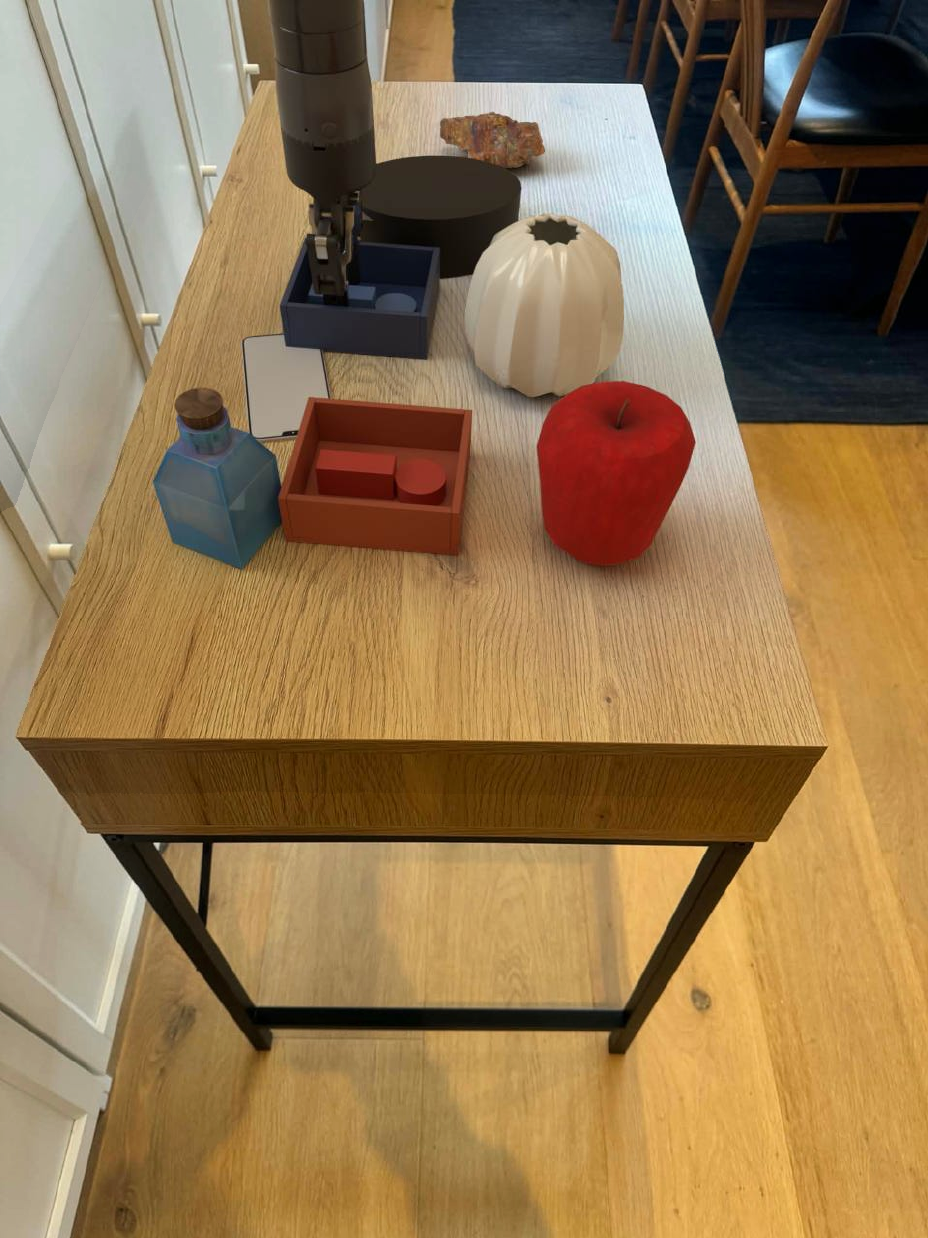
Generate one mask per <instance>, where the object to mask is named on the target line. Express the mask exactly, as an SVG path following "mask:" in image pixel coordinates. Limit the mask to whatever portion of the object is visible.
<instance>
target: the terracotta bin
mask: <svg viewBox="0 0 928 1238" xmlns="http://www.w3.org/2000/svg"><path fill="white" fill-rule="evenodd" d="M472 424H473V409H465V408H455V407H454V408H452V407H441V406H428V405H427V406H426V405H413V404H403V403H390V402H379V401H378V402H377V401H364V400H355V399H353V400H352V399H342V398H341V399H340V398H332V399H329V398H315V397H309V398H308V401H307V404H306V408H305V411H304V414H303V418H302V421H301V424H300V427H299V431H298V434H297V437H296V439H295V441H294V445H293V448H292V451H291V454H290V458H289V460H288V464H287V467H286V470H285V474H284V476H283V480H282V482H281V490H280V493H279V496H278V502H279V507H280V512H281V518H282V522H281V524H282V529H283V533H284V539H285V542H296V543H308V544H319V545H321V544H322V545H329V546H330V545H331V546H332V545H333V546H342V547H343V546H344V547H355V548H368V549H379V550H392V551H403V552H414V553H425V554H438V555H450V556H458V555H459V551H460V543H461V534H462V526H463V516H464V509H465V502H466V501H465V500H466V492H467V483H468V475H469V465H470V458H471V457H470V456H471V444H472ZM321 449H323V450H336V451H348V452H360V453H373V454H385V455H396V458H397V469H398V468H399V467H400V466H401V465H402V464H404V463H406V462H408V461H411V460H415V459H425V460H430V461H433V462H436V463H437V464H439V465H440V466H441V467H442V468H443V469H444V471H445V473H446V496H445V499H444V500H443V502H442V503H441V504H440V505H438V506H430V505H418V504H406V503H400V502H399V501H398V500H397V498H396V492H395V497H394V500H386V499H374V498H362V497H350V496H338V495H325V494H319V493H318V485H317V477H316V470H315V467H316V463H317V460H318V456H319V452H320V450H321Z"/></svg>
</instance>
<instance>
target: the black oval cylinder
mask: <svg viewBox="0 0 928 1238" xmlns="http://www.w3.org/2000/svg"><path fill="white" fill-rule="evenodd" d="M521 196H522V183H521V180H520V179H519V178H518V175H516V174H514V173H513V172H512V171H511V170H509V169H508V168H503V167H501V166H499V165H496V164H493V163H490V162H487V161H482V160H478V159H473V158H468V157H465V156H459V155H458V156H457V155H454V156H453V155H417V156H407V157H399V158H393V159H388V160H386V161H385V160H384V161H381V162H376V174H375V177H374V179H373V180H372V181H371V183H370V184H368V185H367V186H366V187H364V188H363V189H362V215H363V221H364V225H363V227H362V230H361V232H360V237H361V242H371V243H384V244H397V245H411V246H424V247H438V248H440V279H449V278H458V277H464V276H470V275H473V273H474V270H475V267H476V265H477V263H478V261H479V259H480V257H481V255H482V253H483V252H484V251H485V250H486V249H487V248H488V247H489V245H490V243H491V241H492V239H493V237H494V235H495V234H496V233H498V232H500V231H501V230H503V229H505V228H506V227H508V226H510V225H512V224H513V223H515V222H518V221H519V217H520V207H521V198H522V197H521Z"/></svg>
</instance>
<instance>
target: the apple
mask: <svg viewBox="0 0 928 1238" xmlns="http://www.w3.org/2000/svg"><path fill="white" fill-rule="evenodd" d="M540 429H541V430H540V433H539V437H538V440H537V443H536V454H537V464H538V473H539V474H538V475H539V484H540V485H539V487H540V499H541V514H542V521H543V527H544V531H545V532H546V533H547V536H548V537H549V539H550V540H551V542H552V544H553V545H554V547H555V546H556V547H557V548H558V549H560V550H561V551H563V552H564V553H566V554H568V555H569V556H571V557H572V558H574V559H575V560H577V561H579V562H581V563H584V564H588V565H590V566H613V565H619V564H623V563H626V562H629V561H632V560H636V559H638V558H640V556H641V555H642V554H643V553H644V552H646V551H647V550H648V549H649V548H650V547H651V546H652V544H653V542H654V540H655V538H656V536H657V534H658V532H659V530H660V528H661V526H662V524H663V522H664V520H665V519H666V517H667V514H668V512H669V510H670V508H671V506H672V504H673V502H674V500H675V498H676V496H677V494H678V492H679V491H680V489H681V486H682V484H683V482H684V480H685V477H686V475H687V473H688V470H689V468H690V464H691V461H692V457H693V453H694V450H695V446H696V443H697V442H696V438H695V434H694V431H693V428H692V424H691V421H690V420H689V418H688V416H687V414H686V413H685V411H684V410H683V408H682V407H681V406H680V405H679V404H677V402H675V401H674V400H673V399H672V398H671V397H670V396H668V395H667V394H665V393H663V392H661V391H658V390H656V389H653V388H651V387H649V386H646V385H642V384H638V383H633V382H629V381H625V380H615V381H612V380H611V381H599V382H593V383H591V384H589V385H584V386H580V387H579V388H577V389H575V390H574V391H572V392H570V393H569V394H567V395H563V396H562V398H560V399H558V400H557V401H556V402H555V403H554V404H552V405H551V406H550V408H549V410H548V413H547V415H546V416H545V418H544V420H543V422H542V425H541V428H540Z"/></svg>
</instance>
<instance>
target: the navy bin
mask: <svg viewBox="0 0 928 1238" xmlns="http://www.w3.org/2000/svg"><path fill="white" fill-rule="evenodd" d="M305 239H306V237H304V239H303V241H302V243H301V247H300V250H299V252H298V256H297V257H296V261H295V263H294V266H293V269H292V270H291V274H290V277H289V279H288V282H287V285H286V287H285V290H284V293H283V295H282V298H281V300H280V303H279V311H280V318H281V325H282V331H283V333H284V339H285V346H286V347H297V348H309V349H321V350H323V352H326V353H327V352H328V353H342V354H354V355H367V356H379V357H391V358H407V359H415V360H416V359H418V360H428V355H429V350H430V345H431V339H432V335H433V334H432V332H433V328H434V324H435V317H436V313H437V306H438V300H439V295H440V291H441V290H440V289H441V288H440V285H441V278H440V248H438V247H424V246H411V245H397V244H384V243H371V242H361V243H360V246H359V260H360V274H361V280H360V284H359V285H358V286H367V287H376V300H377V299H378V298H379V297H381V296H383V295H386V294H390V293H401V294H405V295H408V296H410V297H412V298H413V299H414V300H415V301H416V303H417V312H406V311H393V310H380V309H367V308H354V307H342V306H329V305H316V304H309V298H308V294H309V291H310V288H311V286H312V283H313V281H312V275H311V269H310V264H309V258H308V252H307V246H306V244H305ZM356 247H357V246H356Z"/></svg>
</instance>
